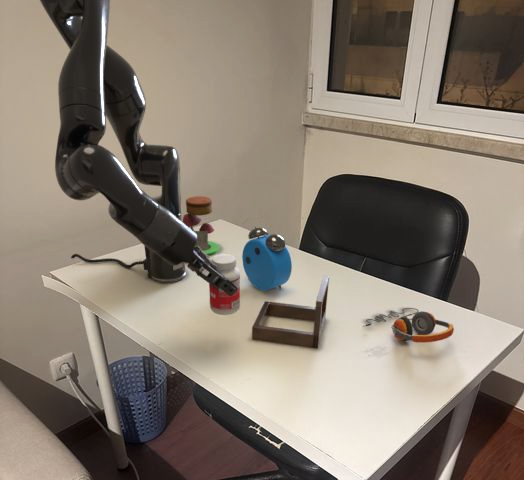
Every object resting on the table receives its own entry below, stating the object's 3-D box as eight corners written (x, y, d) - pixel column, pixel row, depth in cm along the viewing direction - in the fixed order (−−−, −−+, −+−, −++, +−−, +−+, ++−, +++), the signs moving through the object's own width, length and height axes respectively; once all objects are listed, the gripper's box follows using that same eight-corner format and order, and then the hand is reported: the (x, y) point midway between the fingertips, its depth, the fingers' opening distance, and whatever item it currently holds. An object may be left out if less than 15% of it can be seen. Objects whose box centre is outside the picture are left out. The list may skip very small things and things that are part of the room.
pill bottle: (210, 302, 105) (208, 252, 99) (239, 301, 106) (239, 251, 100) (210, 316, 100) (208, 264, 94) (241, 315, 101) (240, 264, 95)
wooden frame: (252, 339, 109) (252, 293, 103) (264, 313, 119) (265, 269, 113) (317, 348, 107) (322, 301, 100) (325, 320, 117) (329, 276, 111)
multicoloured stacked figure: (191, 239, 159) (188, 191, 150) (227, 245, 155) (225, 197, 146) (171, 252, 149) (166, 202, 141) (208, 259, 145) (206, 208, 137)
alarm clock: (291, 292, 129) (294, 236, 120) (273, 299, 125) (274, 241, 117) (259, 275, 137) (259, 221, 129) (241, 281, 134) (240, 226, 125)
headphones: (408, 296, 122) (474, 314, 105) (407, 316, 124) (473, 338, 107) (351, 311, 115) (412, 333, 98) (352, 332, 117) (412, 358, 100)
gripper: (144, 237, 96) (206, 284, 107) (160, 265, 85) (227, 315, 95) (169, 206, 95) (229, 257, 105) (189, 231, 84) (254, 285, 94)
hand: (228, 284), depth 100 cm, fingers closed on pill bottle, 6 cm apart
